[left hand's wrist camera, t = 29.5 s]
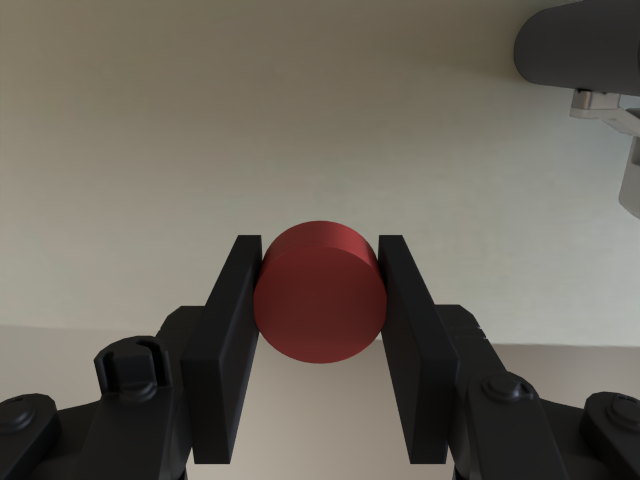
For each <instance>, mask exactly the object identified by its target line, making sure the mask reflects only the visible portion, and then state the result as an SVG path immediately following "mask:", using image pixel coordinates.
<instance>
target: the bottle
mask: <svg viewBox="0 0 640 480" xmlns="http://www.w3.org/2000/svg"><path fill="white" fill-rule="evenodd" d="M514 60H515V64H516V67H517V69H518V71H519V73H520V74H521V75H522V76H523V77H524V78H525V79H526V80H528V81H529V82H531V83H534V84H539V85H547V86H556V87H564V88H573V89H582V90H591V91H599V92H607V93H615V94H624V95H632V96H640V0H585V1H580V2H576V3H571V4H567V5H562V6H558V7H553V8H549V9H545V10H543V11H541V12H539V13H537V14H535V15H534V16H533V17H531V18H530V19H529V20H528V21H527V22H526V23H525V25H524V26H523V27H522V29H521V30H520V32H519V34H518V37H517V39H516V42H515V47H514Z"/></svg>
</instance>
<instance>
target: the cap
mask: <svg viewBox="0 0 640 480" xmlns="http://www.w3.org/2000/svg"><path fill="white" fill-rule="evenodd" d="M253 299H254V315H255V322H256V325H257V327H258V329H259V331H260V332H261V334H262V335H263V337H264V338H265V339H266V340H267V342H268V343H269V344H270V345H272V346H273V347H274V348H275V349H276V350H278V351H279V352H281V353H282V354H284V355H286V356H288V357H290V358H293V359H296V360H299V361H303V362H308V363H319V364H323V363H333V362H338V361H341V360H345V359H347V358H350V357H352V356H354V355H356V354H358V353H359V352H361V351H363V350H364V349H365V348H367V347H368V346H369V345H370V344H371V343H372V342H373V341H374V340H375V338H376V337H377V336H378V334H379V333H380V331H381V329H382V327H383V325H384V323H385V319H386V304H387V292H386V288H385V285H384V281H383V278H382V274H381V271H380V267H379V264H378V261H377V258H376V255H375V253H374V251H373V249H372V247H371V246H370V245H369V243H368V242H367V241H366V240H365V239H364V238H363V237H362V236H361V235H360V234H358V233H357V232H356V231H354V230H352V229H351V228H349V227H347V226H344V225H342V224H339V223H335V222H329V221H310V222H306V223H302V224H299V225H296V226H294V227H291V228H289V229H288V230H286V231H285V232H283V233H282V234H280V235H279V236H278V237H277V238H276V239H275V240H274V241H273V242H272V244H271V245H270V246H269V248H268V250H267V251H266V254H265V256H264V258H263V262H262V265H261V269H260V272H259V276H258V279H257V283H256V286H255V289H254V293H253Z"/></svg>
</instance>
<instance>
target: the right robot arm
mask: <svg viewBox="0 0 640 480" xmlns="http://www.w3.org/2000/svg"><path fill="white" fill-rule="evenodd" d="M620 95H621V94H615V93H607V92H599V91H591V90H582V89H575V90H574V95H573V99H572V104H571V109H570V115H569V116H572V117H576V118H583V119H601V120H602V121H604V122H605V123H607V124H608V125H610V126H611V127H613V128H614V129H616V130H617V131H619V132H620V133H624V134H628V135H633V136H634V137H633V141H632V145H631V149H630V153H629V157H628V161H627V165H626V170H625V174H624V178H623V182H622V186H621V190H620V194H619V203H620V204H621V205H622V206H623V207H624V208H625V209H626V210H627V211H628V212H629V213H630V214H632V215H633V216H635V217H637V218H638V219H640V108H631V109H627V110H624V109H623V108H621V107H619V106H618V105H619V100H620Z"/></svg>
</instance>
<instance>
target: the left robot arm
mask: <svg viewBox="0 0 640 480" xmlns="http://www.w3.org/2000/svg"><path fill="white" fill-rule="evenodd" d="M262 262H263V260H262V242H261V235H238V237H237V239H236V241H235V243H234V245H233V247H232V249H231V252H230V254H229V256H228V258H227V260H226V262H225V264H224V266H223V268H222V271H221V273H220V275H219V277H218V279H217V281H216V283H215V285H214V288H213V290H212V292H211V294H210V296H209V298H208V300H207V302H206V305H205V306H181V307H179V308H178V309H176V310H175V311H174V312H172V313H171V314H170V315H168V316H167V318H166V320H165V321H164V323H163V325H162V326H161V328H160V330H159V331H158V333H157V335H156V336H155V337H153V336H134V337H129V338H124V339H122V340H119V341H117V342H114V343H112V344H110V345H108V346H107V347H106V348H104V349H103V350H101V351H100V352H99V353H98V355H97V356H96V357H95V359H94V364H95V368H96V373H97V377H98V381H99V385H100V390H101V394H102V396H101V399H100V400H99V401H96V402H92V403H89V404H85V405H81V406H76V407H72V408H67V409H63V410H58V411H57V408H56V405H55V401H54V400H52V399H51V398H50V397H49V396H48V395H43V394H38V393H35V394H25V395H20V396H17V397H13V398H10V399H7V400H5V401H3V402H1V403H0V480H188V478H187V472H186V463H187V460H188V457H189V454H190V451H191V448H192V449H193V456H194V463H195V464H230V461H231V456H232V452H233V448H234V443H235V439H236V434H237V430H238V425H239V421H240V416H241V412H242V407H243V403H244V399H245V394H246V390H247V385H248V381H249V376H250V372H251V367H252V363H253V358H254V354H255V349H256V345H257V340H258V336H259V332H260V331H259V329H258V327H257V325H256V322H255V315H254V299H253V293H254V289H255V286H256V283H257V279H258V276H259V272H260V269H261V265H262ZM378 264H379V267H380V271H381V274H382V278H383V281H384V285H385V288H386V292H387V304H386V319H385V323H384V325H383V327H382V329H381V335H382V339H383V344H384V348H385V353H386V357H387V362H388V366H389V370H390V375H391V379H392V384H393V388H394V393H395V397H396V402H397V406H398V411H399V415H400V420H401V424H402V428H403V433H404V438H405V442H406V446H407V451H408V455H409V460H410V464H446V458H447V451H448V445H449V448H450V451H451V454H452V457H453V460H454V463H455V465H454V472H453V478H452V480H640V400H638V399H636V398H633V397H630V396H627V395H623V394H620V393H614V392H599V393H594V394H592V395H591V396H590V397H588V398H587V399H586V403H585V406H584V409H581V408H577V407H572V406H567V405H563V404H559V403H554V402H551V401H547V400H544V399H541V398H539V395H538V393H537V392H536V390H535V389H534V387H533V386H532V385H531V384H530V383H528V382H527V381H526V380H525V379H523V378H522V377H520V376H518V375H516V374H513V373H511V372H508V371H507V370H506V369H505V367H504V365H503V364H502V362H501V360H500V359H499V357H498V355H497V354H496V352H495V350H494V349H493V347H492V345H491V344H490V342H489V341H488V339H486V336H485V334H484V332H483V331H482V329H480V326H479V324H478V322H477V321H476V319H475V317H474V316H473V314H471V313H470V312H469V311H467V310H466V309H464V308H463V307H462V306H460V305H435V304H434V302H433V300H432V298H431V295H430V293H429V291H428V289H427V287H426V285H425V283H424V281H423V278H422V276H421V274H420V272H419V270H418V268H417V266H416V264H415V261H414V259H413V257H412V255H411V253H410V251H409V249H408V247H407V245H406V242H405V240H404V238H403V236H402V235H379V247H378Z"/></svg>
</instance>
